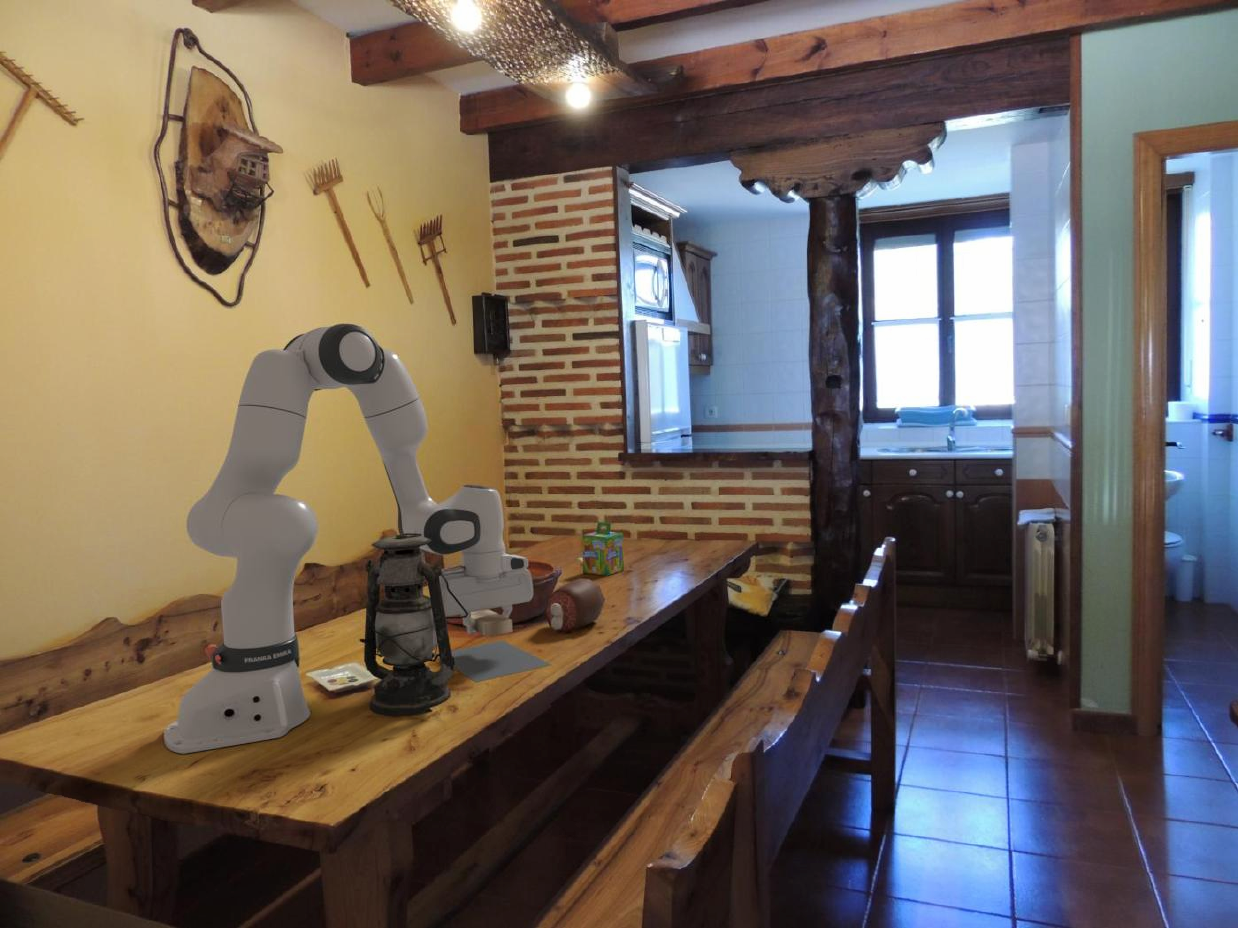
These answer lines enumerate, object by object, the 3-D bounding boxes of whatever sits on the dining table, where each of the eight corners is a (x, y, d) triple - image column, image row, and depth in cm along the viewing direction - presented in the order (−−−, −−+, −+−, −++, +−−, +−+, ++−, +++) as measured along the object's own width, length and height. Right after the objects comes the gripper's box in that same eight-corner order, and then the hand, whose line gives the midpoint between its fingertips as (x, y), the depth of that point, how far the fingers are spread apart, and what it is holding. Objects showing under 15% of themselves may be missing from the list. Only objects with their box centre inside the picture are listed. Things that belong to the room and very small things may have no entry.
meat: (578, 641, 191) (576, 595, 190) (532, 637, 196) (529, 592, 194) (616, 616, 209) (614, 574, 208) (573, 613, 214) (571, 572, 213)
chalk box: (582, 573, 260) (580, 524, 259) (600, 567, 268) (598, 519, 267) (607, 576, 255) (605, 526, 254) (625, 570, 262) (623, 521, 261)
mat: (476, 685, 164) (476, 682, 164) (432, 657, 182) (432, 654, 182) (551, 667, 172) (551, 664, 172) (503, 642, 191) (502, 640, 191)
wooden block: (486, 625, 174) (462, 613, 184) (487, 636, 174) (463, 624, 184) (511, 619, 177) (486, 608, 187) (512, 631, 177) (487, 619, 187)
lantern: (340, 710, 153) (329, 540, 151) (405, 675, 171) (396, 523, 168) (432, 721, 146) (422, 543, 144) (489, 684, 164) (481, 525, 162)
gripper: (441, 573, 171) (445, 643, 172) (535, 558, 182) (538, 623, 183) (429, 568, 176) (433, 636, 177) (521, 554, 187) (524, 617, 188)
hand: (487, 629), depth 180 cm, fingers closed on wooden block, 5 cm apart
